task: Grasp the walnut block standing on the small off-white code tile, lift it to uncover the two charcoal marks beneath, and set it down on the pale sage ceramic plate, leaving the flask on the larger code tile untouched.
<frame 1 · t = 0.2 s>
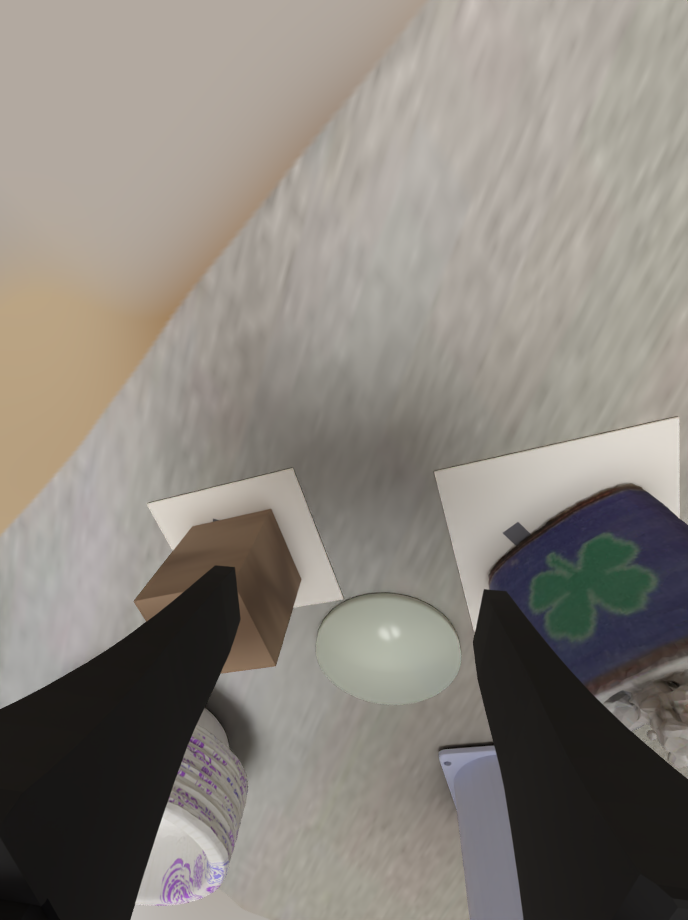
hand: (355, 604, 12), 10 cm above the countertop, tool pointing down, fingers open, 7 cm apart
code tile b: (248, 552, 25), on the countertop
code tile a: (560, 539, 22), on the countertop
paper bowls: (168, 723, 33), on the countertop
plate: (387, 648, 27), on the countertop
walnut block: (247, 553, 24), resting on code tile b
flask: (560, 538, 22), on the countertop, touching code tile a
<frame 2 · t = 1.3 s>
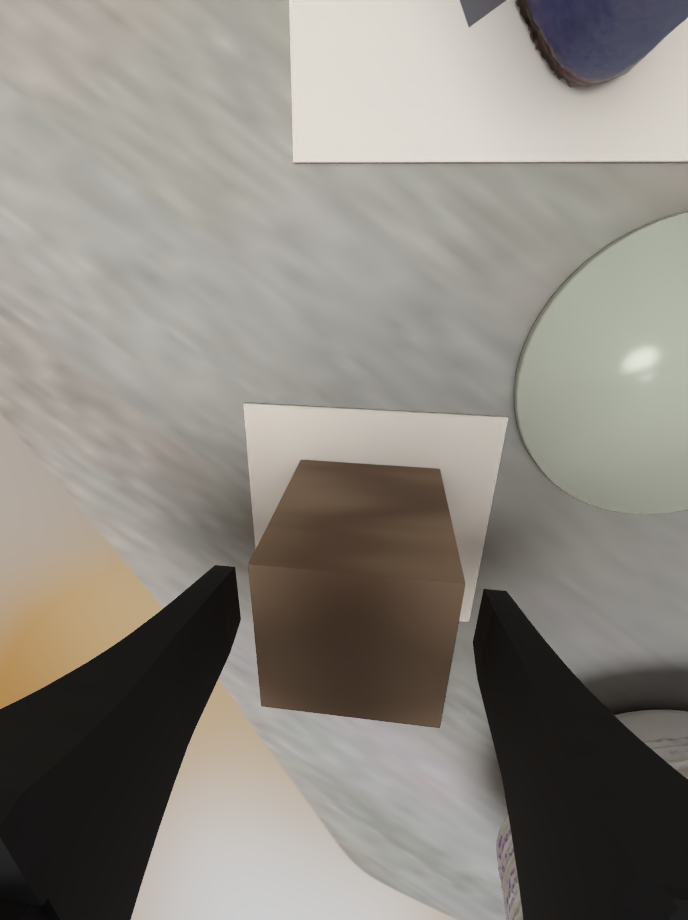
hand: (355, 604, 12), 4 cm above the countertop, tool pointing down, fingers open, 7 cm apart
code tile b: (366, 521, 16), on the countertop
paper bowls: (641, 765, 20), on the countertop
plate: (667, 378, 13), on the countertop
walnut block: (366, 523, 16), resting on code tile b
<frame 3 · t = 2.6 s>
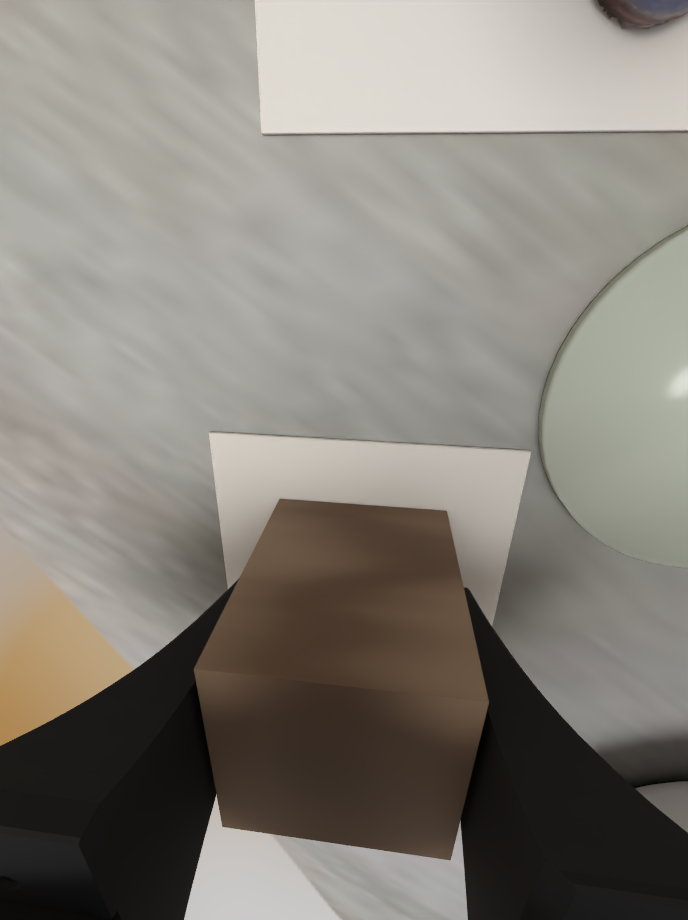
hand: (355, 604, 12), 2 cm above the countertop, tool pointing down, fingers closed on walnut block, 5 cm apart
code tile b: (359, 569, 14), on the countertop
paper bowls: (673, 836, 18), on the countertop
walnut block: (358, 571, 14), resting on code tile b, touching gripper
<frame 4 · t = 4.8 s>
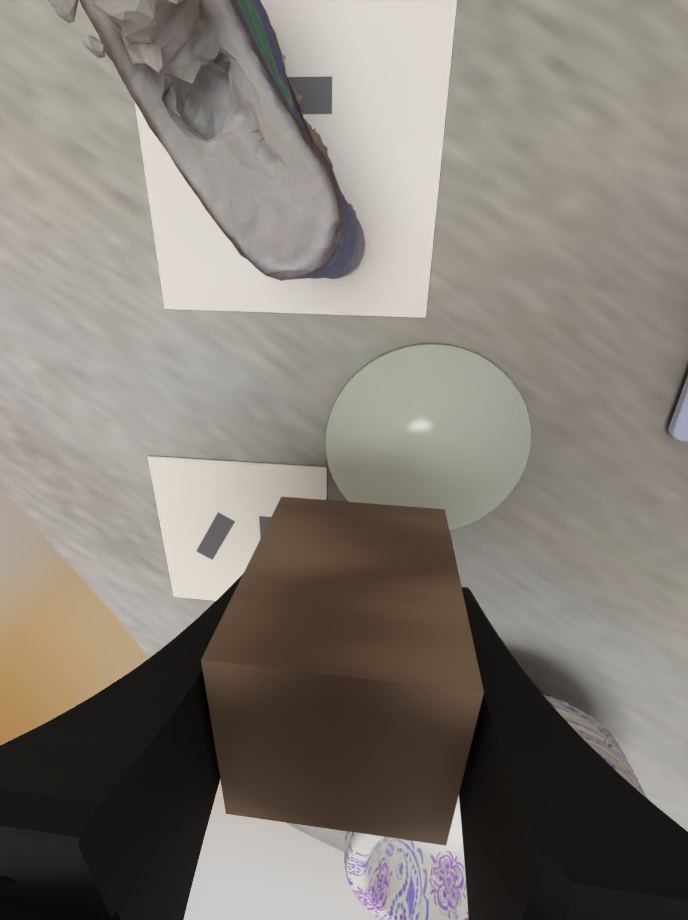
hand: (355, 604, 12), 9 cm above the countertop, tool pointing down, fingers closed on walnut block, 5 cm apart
code tile b: (243, 537, 22), on the countertop
code tile a: (288, 153, 15), on the countertop
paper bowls: (472, 721, 27), on the countertop
plate: (424, 443, 19), on the countertop
walnut block: (358, 568, 14), point 7 cm above the countertop, touching gripper
flask: (288, 153, 15), on the countertop, touching code tile a
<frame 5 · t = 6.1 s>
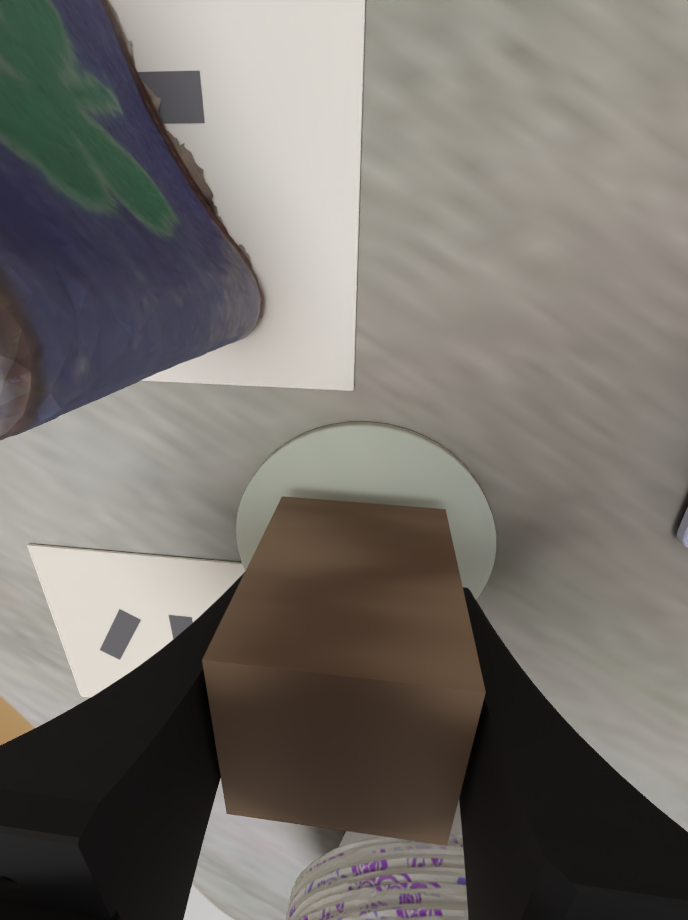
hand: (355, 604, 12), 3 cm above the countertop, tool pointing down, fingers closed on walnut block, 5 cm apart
code tile b: (153, 636, 18), on the countertop
code tile a: (153, 176, 11), on the countertop
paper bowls: (441, 835, 23), on the countertop
plate: (363, 539, 15), on the countertop
walnut block: (358, 568, 14), point 1 cm above the countertop, touching gripper
flask: (154, 177, 11), on the countertop, touching code tile a
when the fingers open (3 cm above the countertop, at t = 7.1 s): walnut block stays where it is, resting on plate.
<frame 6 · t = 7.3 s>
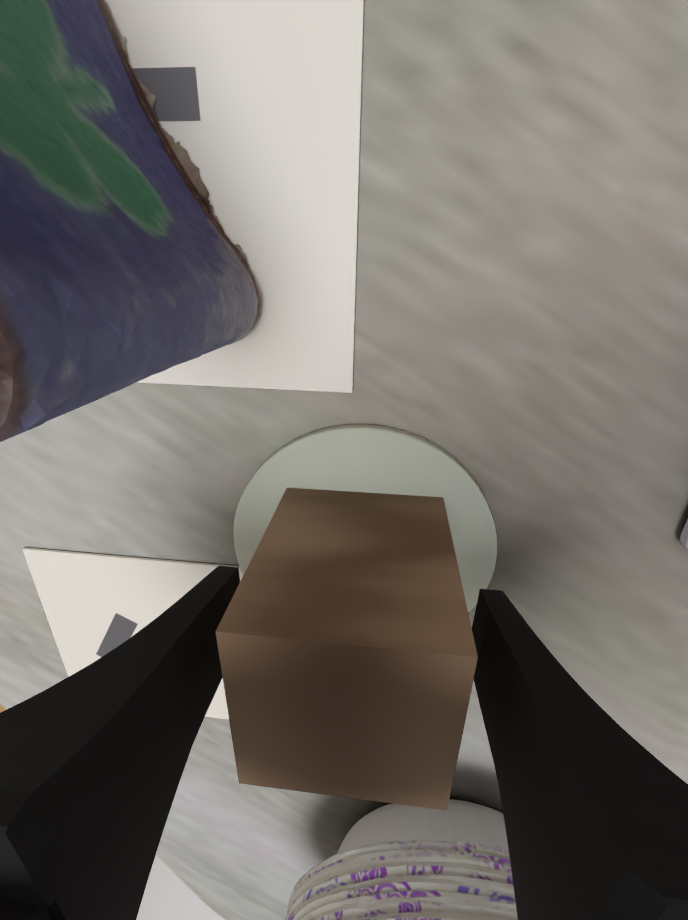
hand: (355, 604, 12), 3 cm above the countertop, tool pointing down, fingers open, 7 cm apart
code tile b: (150, 640, 18), on the countertop
code tile a: (148, 175, 11), on the countertop
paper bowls: (441, 839, 23), on the countertop
plate: (362, 543, 15), on the countertop
walnut block: (361, 556, 14), point 1 cm above the countertop, touching plate
flask: (149, 175, 11), on the countertop, touching code tile a
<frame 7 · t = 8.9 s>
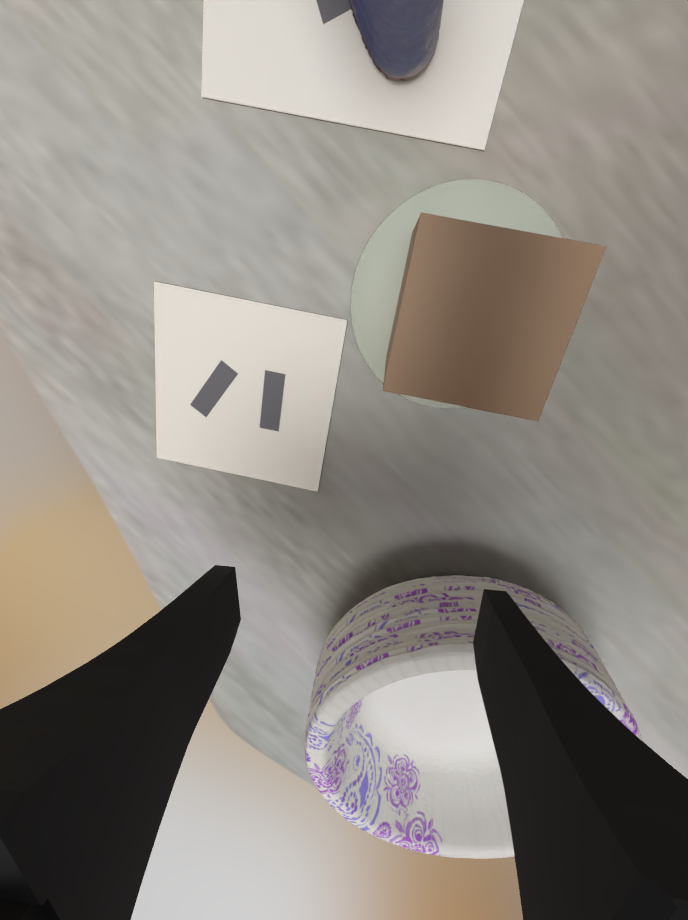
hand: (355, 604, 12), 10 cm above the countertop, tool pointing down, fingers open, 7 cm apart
code tile b: (243, 395, 21), on the countertop
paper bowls: (445, 635, 26), on the countertop
plate: (455, 304, 18), on the countertop
walnut block: (456, 308, 18), point 1 cm above the countertop, touching plate
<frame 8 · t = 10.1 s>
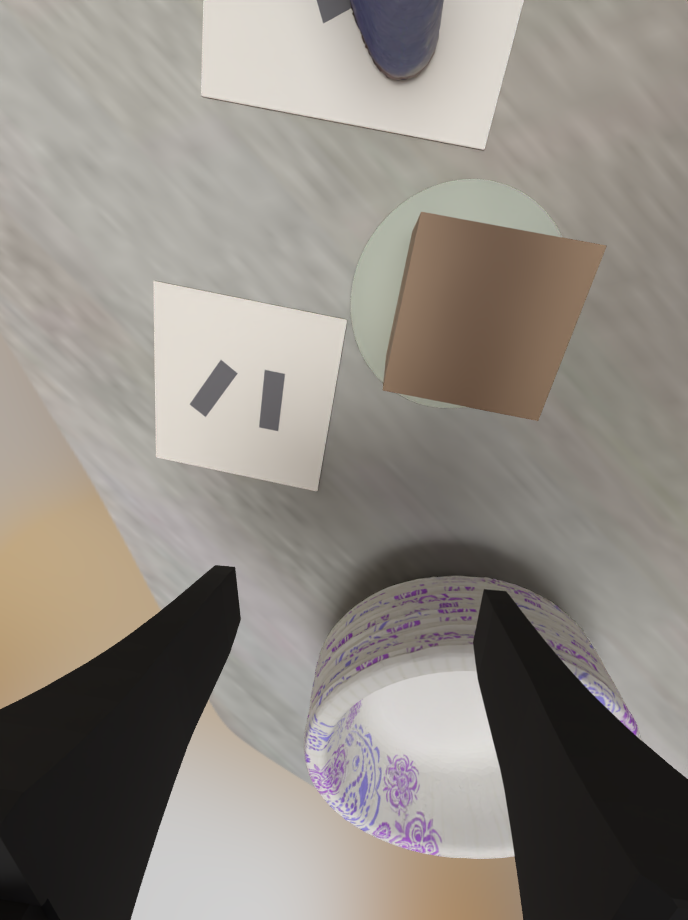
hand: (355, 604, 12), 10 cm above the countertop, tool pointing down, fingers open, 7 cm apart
code tile b: (243, 394, 21), on the countertop
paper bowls: (445, 635, 26), on the countertop
plate: (454, 304, 18), on the countertop
walnut block: (456, 308, 18), point 1 cm above the countertop, touching plate
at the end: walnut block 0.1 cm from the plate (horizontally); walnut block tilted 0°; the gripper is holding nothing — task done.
